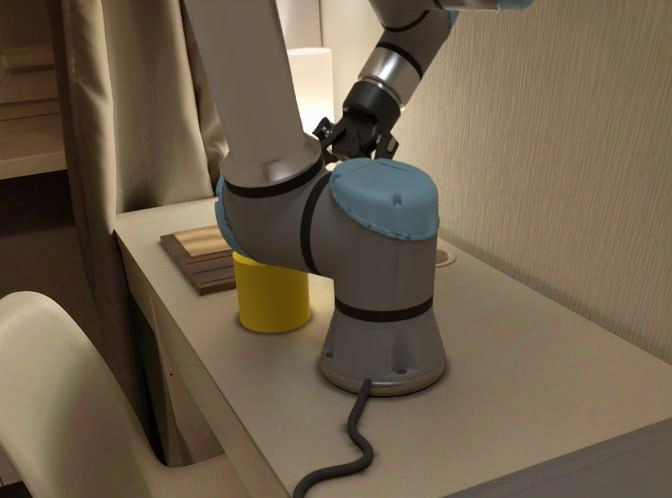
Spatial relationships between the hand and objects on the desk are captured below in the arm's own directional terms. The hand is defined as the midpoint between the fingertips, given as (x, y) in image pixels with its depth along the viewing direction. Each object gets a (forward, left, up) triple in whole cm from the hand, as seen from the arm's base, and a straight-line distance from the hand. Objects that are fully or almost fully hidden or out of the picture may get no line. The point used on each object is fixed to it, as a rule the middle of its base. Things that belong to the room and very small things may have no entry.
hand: (298, 236), depth 99 cm
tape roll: (-5, +2, -10) cm, 12 cm away
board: (+11, +22, -10) cm, 26 cm away
